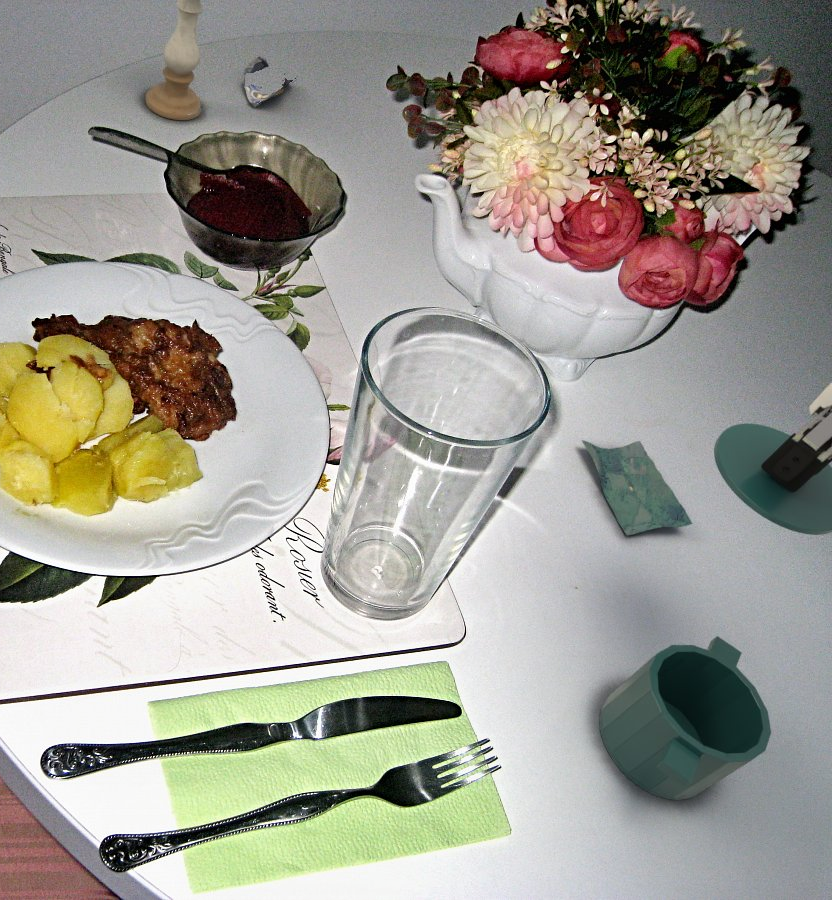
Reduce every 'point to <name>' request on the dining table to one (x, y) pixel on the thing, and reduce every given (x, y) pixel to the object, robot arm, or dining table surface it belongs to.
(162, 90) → the candle holder
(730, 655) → the pot
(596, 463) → the green flat curved rectangle
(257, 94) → the snack package
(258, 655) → the dining table surface
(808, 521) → the pot lid
